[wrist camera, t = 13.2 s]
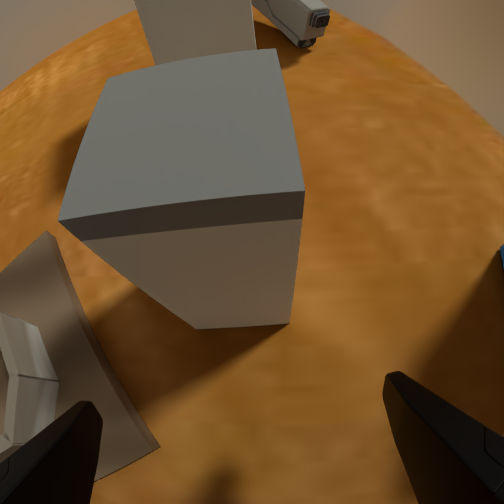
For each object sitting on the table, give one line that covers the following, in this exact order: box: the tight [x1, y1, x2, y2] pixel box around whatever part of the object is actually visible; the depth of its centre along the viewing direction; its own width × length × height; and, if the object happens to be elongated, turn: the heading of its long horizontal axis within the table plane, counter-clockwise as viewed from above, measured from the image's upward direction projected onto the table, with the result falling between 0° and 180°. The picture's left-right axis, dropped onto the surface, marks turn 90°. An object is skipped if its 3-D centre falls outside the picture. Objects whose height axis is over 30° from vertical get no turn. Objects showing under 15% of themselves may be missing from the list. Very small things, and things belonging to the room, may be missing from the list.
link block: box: [58, 48, 305, 329], centre depth 12 cm, size 5×5×12 cm
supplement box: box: [134, 0, 256, 65], centre depth 19 cm, size 7×7×13 cm
